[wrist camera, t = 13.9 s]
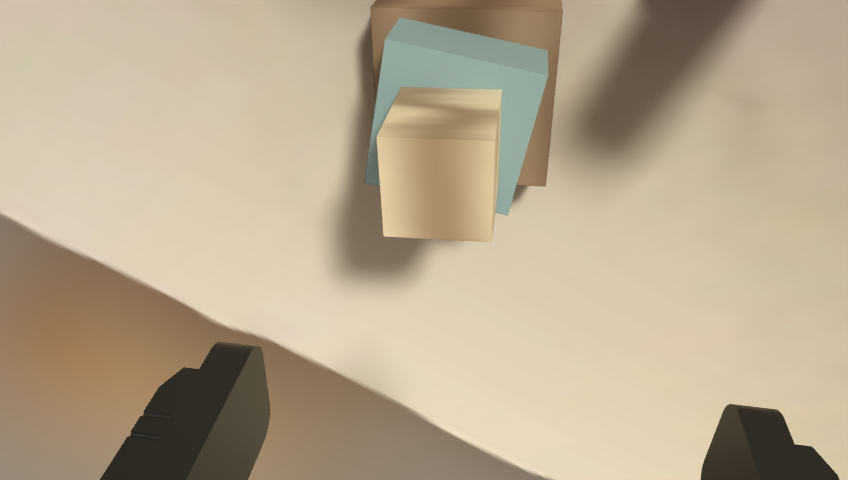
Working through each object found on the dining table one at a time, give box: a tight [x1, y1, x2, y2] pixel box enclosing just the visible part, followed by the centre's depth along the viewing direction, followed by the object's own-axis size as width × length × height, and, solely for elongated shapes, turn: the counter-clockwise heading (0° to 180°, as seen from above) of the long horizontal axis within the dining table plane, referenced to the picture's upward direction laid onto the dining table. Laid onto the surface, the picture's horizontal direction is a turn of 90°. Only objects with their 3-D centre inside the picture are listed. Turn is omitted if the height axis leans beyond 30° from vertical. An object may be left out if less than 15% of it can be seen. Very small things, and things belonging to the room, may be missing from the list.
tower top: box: [364, 17, 548, 216], centre depth 37 cm, size 8×8×4 cm
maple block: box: [377, 87, 502, 242], centre depth 32 cm, size 5×5×6 cm
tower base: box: [370, 0, 563, 186], centre depth 40 cm, size 10×10×4 cm
